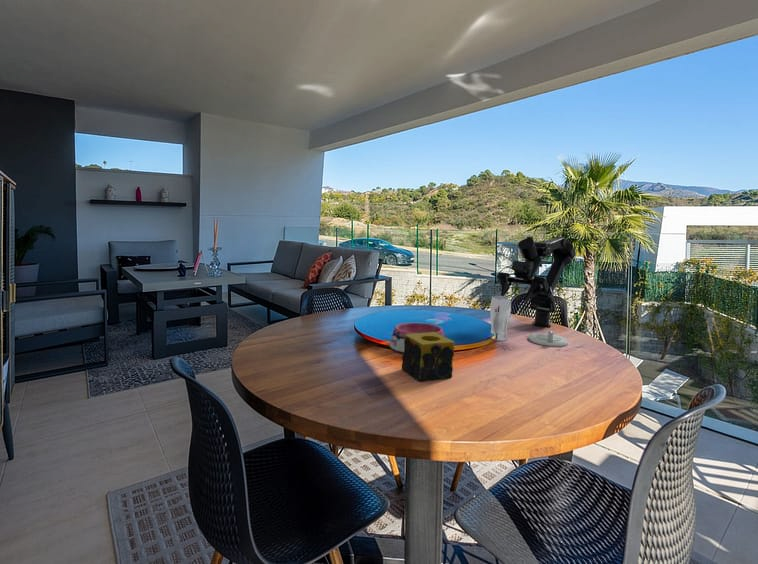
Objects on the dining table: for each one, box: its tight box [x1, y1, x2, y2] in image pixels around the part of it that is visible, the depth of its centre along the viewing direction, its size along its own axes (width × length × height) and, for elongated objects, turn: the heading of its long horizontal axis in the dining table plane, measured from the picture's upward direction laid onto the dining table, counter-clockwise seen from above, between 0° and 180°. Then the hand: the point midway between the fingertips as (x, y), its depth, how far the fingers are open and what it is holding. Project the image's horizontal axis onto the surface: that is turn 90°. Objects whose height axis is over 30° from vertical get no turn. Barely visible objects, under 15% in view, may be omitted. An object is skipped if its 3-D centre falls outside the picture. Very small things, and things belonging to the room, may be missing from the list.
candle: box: [401, 332, 456, 383], centre depth 110 cm, size 10×10×10 cm
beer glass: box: [489, 295, 512, 342], centre depth 148 cm, size 7×7×15 cm
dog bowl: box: [388, 322, 446, 355], centre depth 134 cm, size 18×19×7 cm
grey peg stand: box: [528, 331, 569, 348], centre depth 148 cm, size 13×13×5 cm
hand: (512, 299), depth 152 cm, fingers open, 9 cm apart
